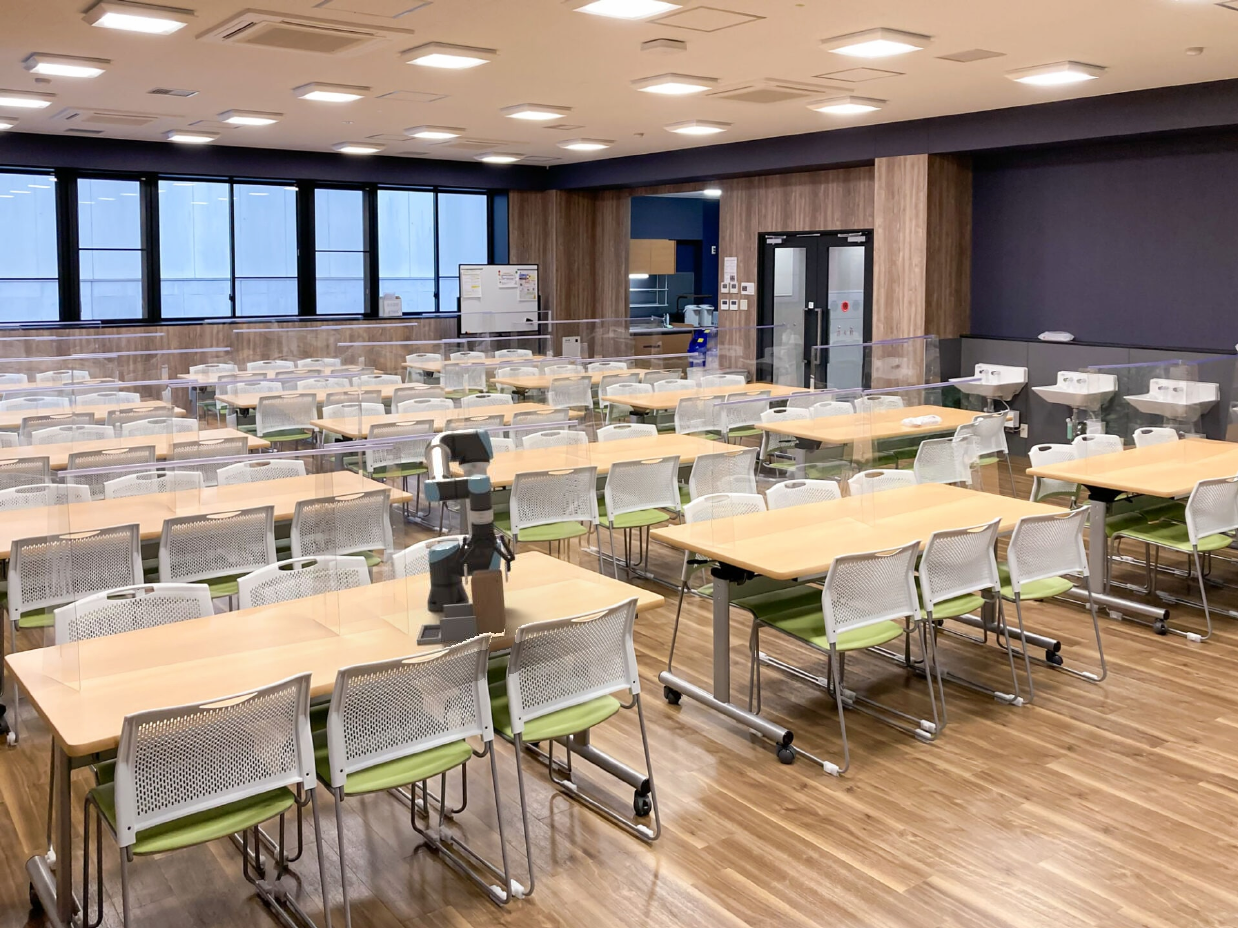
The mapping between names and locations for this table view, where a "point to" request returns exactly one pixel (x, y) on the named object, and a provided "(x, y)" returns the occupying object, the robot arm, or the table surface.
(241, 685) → the table surface
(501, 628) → the wooden block
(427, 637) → the pit trap
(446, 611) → the channel
